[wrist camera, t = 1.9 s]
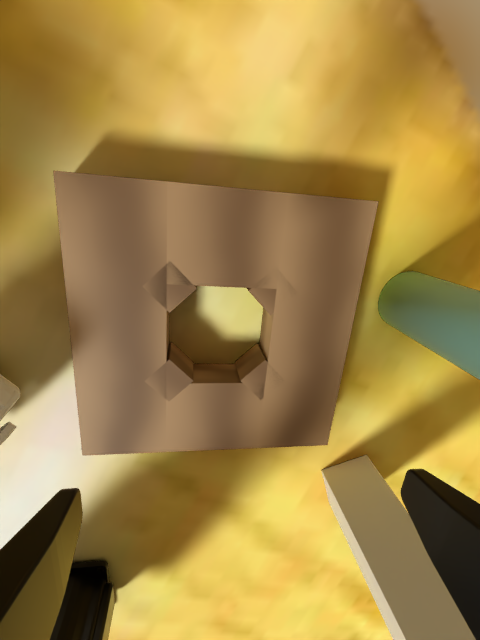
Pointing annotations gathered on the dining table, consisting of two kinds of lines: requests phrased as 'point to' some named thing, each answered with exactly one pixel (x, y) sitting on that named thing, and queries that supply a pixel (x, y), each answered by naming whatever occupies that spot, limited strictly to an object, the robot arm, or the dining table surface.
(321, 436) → the socket board
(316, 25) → the dining table surface
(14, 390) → the white blocky figure
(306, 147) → the dining table surface
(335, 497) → the square dowel
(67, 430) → the dining table surface
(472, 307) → the round dowel
